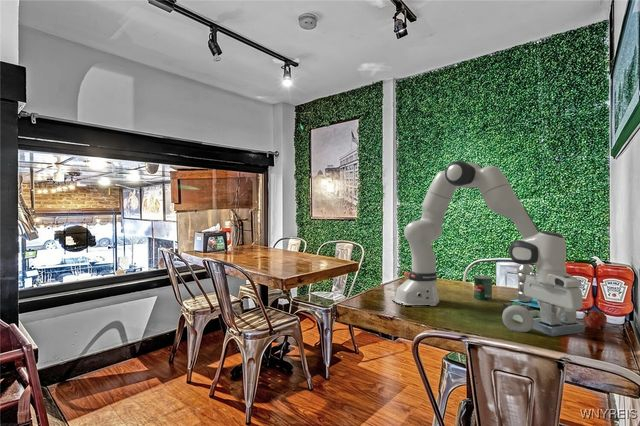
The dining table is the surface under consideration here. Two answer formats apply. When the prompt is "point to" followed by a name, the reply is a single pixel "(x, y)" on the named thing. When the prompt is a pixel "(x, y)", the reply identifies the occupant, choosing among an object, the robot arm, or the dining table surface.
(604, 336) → the dining table surface
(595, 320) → the pomegranate
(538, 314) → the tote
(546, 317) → the billet
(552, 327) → the pallet
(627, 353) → the dining table surface
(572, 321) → the block
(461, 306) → the dining table surface
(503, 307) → the console
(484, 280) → the canned tomato
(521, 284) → the plastic bottle
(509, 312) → the donut
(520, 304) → the button
